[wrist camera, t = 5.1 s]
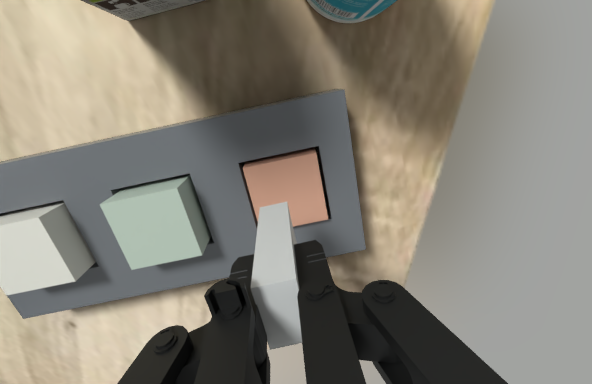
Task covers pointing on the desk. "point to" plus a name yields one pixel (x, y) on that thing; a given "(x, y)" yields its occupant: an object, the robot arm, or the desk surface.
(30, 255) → the cream key
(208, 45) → the desk surface
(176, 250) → the sage key
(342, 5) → the pill bottle
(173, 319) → the desk surface
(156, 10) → the coffee box
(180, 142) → the keypad
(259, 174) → the terracotta key
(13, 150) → the desk surface
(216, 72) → the desk surface
